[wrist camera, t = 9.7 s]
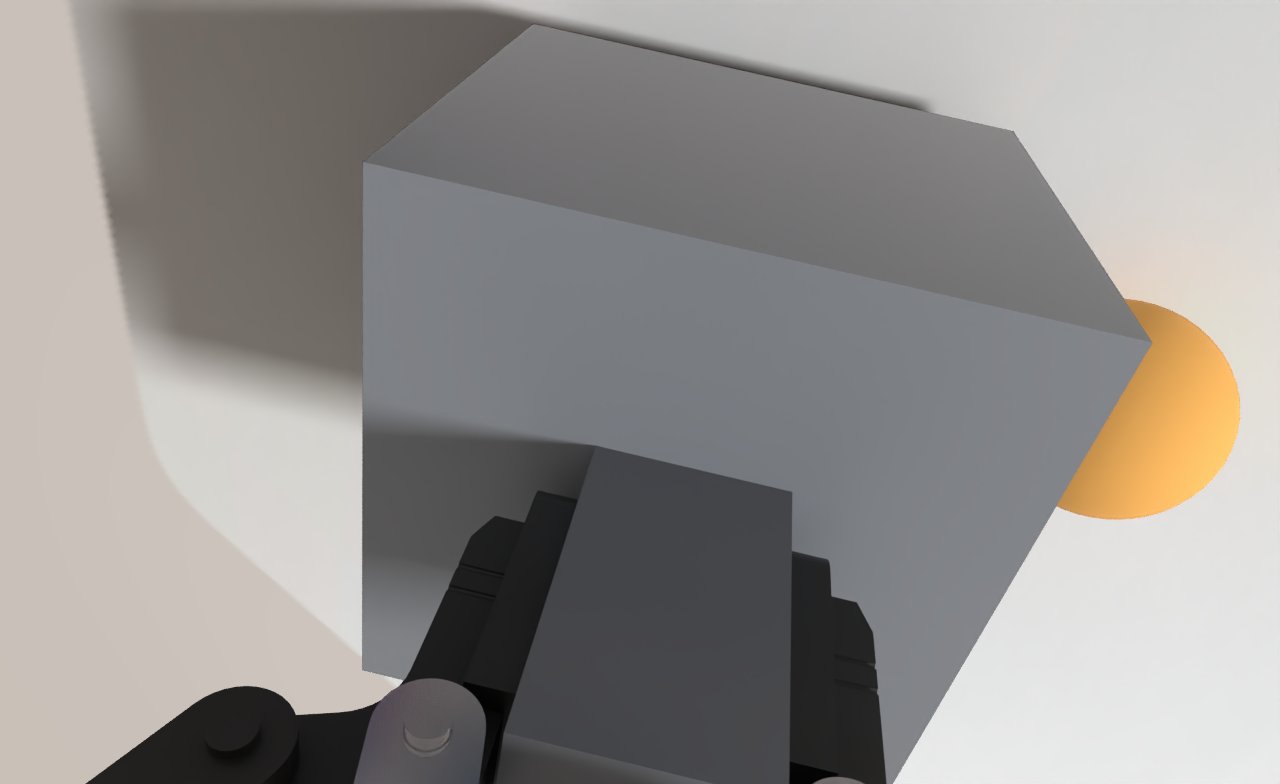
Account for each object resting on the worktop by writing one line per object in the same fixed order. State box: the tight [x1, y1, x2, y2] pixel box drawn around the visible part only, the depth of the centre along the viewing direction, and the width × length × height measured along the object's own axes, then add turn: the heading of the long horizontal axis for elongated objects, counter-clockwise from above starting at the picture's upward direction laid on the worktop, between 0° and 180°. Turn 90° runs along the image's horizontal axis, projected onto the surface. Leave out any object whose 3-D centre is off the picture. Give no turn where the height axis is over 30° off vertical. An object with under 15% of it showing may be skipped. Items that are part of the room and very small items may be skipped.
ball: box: [1057, 299, 1240, 519], centre depth 20 cm, size 5×5×5 cm
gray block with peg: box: [362, 24, 1153, 784], centre depth 16 cm, size 10×10×14 cm
